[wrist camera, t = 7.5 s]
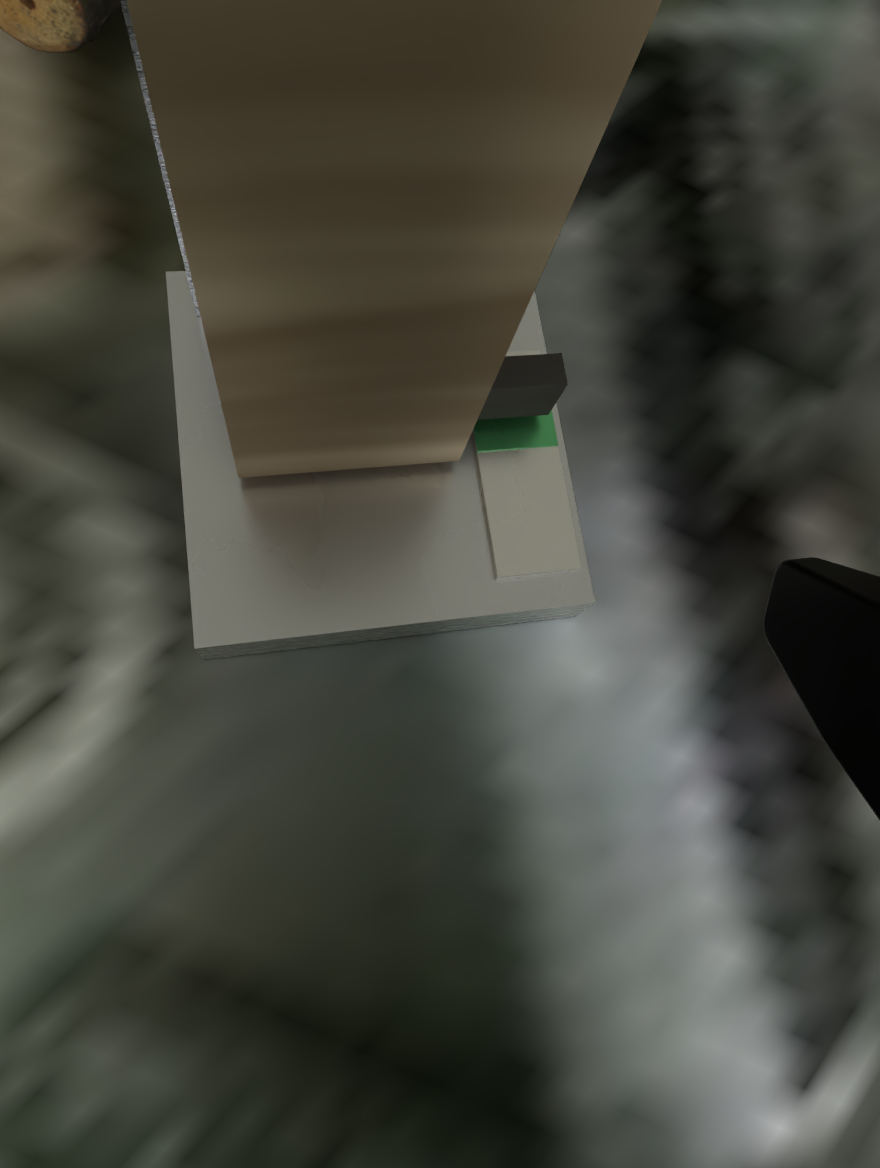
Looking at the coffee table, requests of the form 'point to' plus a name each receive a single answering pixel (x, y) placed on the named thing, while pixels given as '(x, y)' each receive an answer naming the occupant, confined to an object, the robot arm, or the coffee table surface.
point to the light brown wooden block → (376, 206)
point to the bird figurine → (55, 22)
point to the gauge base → (367, 519)
